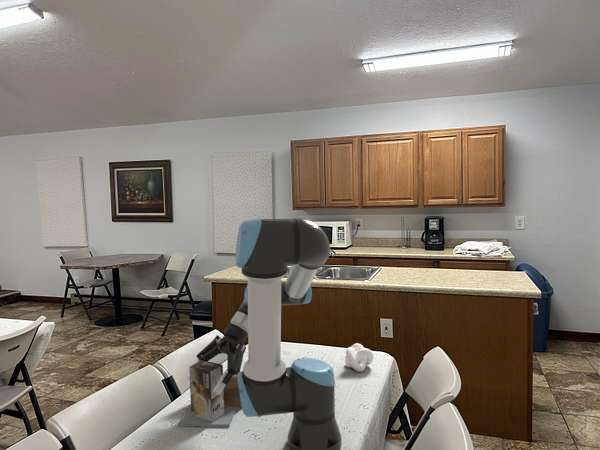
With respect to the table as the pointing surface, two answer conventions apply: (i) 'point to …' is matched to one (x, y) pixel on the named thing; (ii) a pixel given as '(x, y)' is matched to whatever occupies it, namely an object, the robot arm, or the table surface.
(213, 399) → the coffee box
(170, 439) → the table surface
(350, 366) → the white lobed ornament
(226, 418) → the mat
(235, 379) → the walnut screen
